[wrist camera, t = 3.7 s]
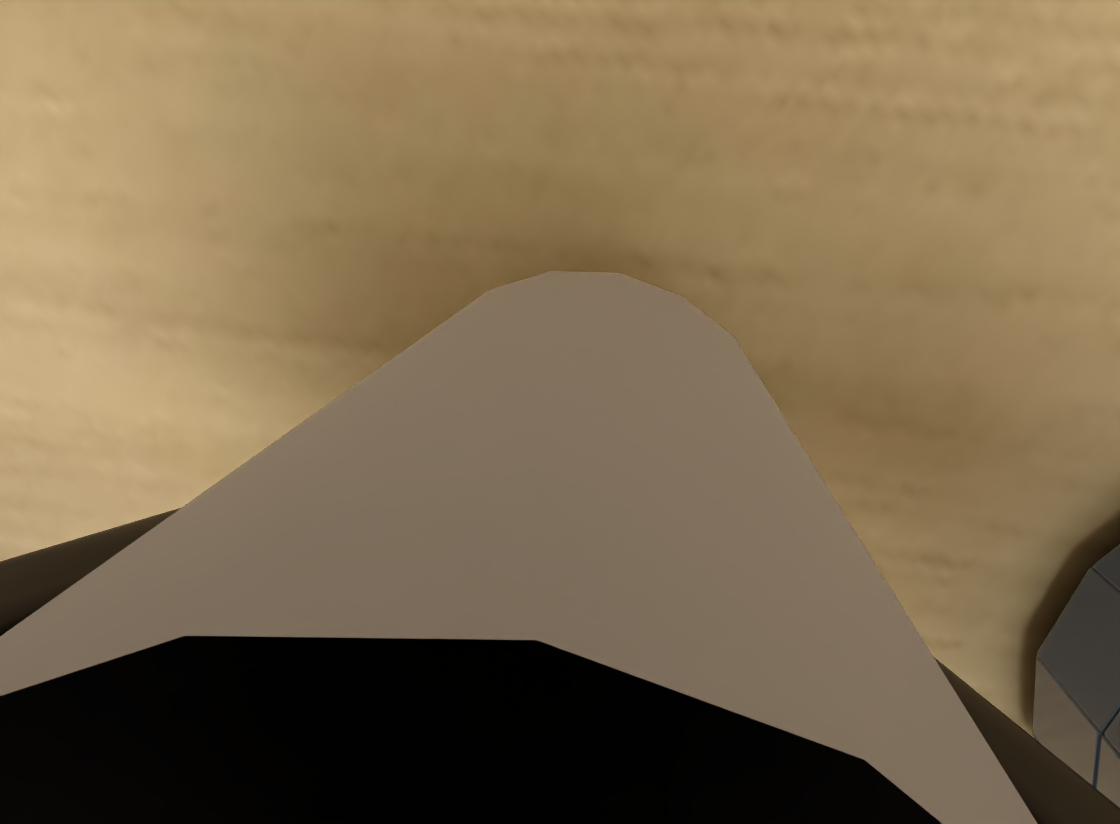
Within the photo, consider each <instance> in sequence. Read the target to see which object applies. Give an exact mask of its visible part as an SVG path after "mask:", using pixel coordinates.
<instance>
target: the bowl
mask: <svg viewBox="0 0 1120 824" xmlns="http://www.w3.org/2000/svg"><path fill="white" fill-rule="evenodd" d="M1092 567H1093V568H1089V569H1088V571H1087V572H1086V574H1085V576H1084V577H1083V579H1082V580H1081V582H1080V584H1079V585H1078V587H1077V588H1076V590H1075V592H1074V593H1073V595H1072V597H1071V598H1070V600H1069V601H1068V603H1067V605H1066V606H1065V608H1064V609H1063V611H1062V613H1061V614H1060V616H1059V617H1058V619H1057V621H1056V622H1055V624H1054V626H1053V627H1052V629H1051V630H1050V632H1049V634H1048V635H1047V637H1046V638H1045V640H1044V642H1043V643H1042V645H1041V647H1040V648H1039V650H1038V651H1037V655H1038V656H1037V657H1036V672H1035V692H1034V712H1033V734H1034V739H1035V740H1037V741H1038V742H1039V743H1040V744H1042V745H1043V746H1044V747H1045V748H1047V749H1048V750H1049V751H1050V752H1051V753H1053V754H1054V755H1055V756H1056V757H1058V758H1059V759H1060V760H1061V761H1063V762H1064V763H1065V764H1066V765H1068V766H1069V767H1070V768H1071V769H1072V770H1074V771H1075V772H1076V773H1077V774H1079V775H1080V776H1081V777H1082V778H1084V779H1085V780H1086V781H1087V782H1089V783H1090V784H1091V785H1092V786H1093V787H1095V788H1096V789H1097V790H1098V791H1100V792H1101V793H1102V794H1103V795H1105V796H1106V797H1107V798H1108V799H1110V800H1111V801H1112V802H1113V803H1114V804H1116V805H1117V806H1118V807H1119V808H1120V544H1119V545H1118V546H1116V547H1115V548H1114V549H1112V550H1111V551H1110V552H1109V553H1107V554H1106V555H1105V556H1103V557H1102V558H1101V559H1100V560H1098V561H1097V562H1096V563H1094V564H1093V566H1092Z"/></svg>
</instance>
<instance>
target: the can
mask: <svg viewBox="0 0 1120 824" xmlns="http://www.w3.org/2000/svg"><path fill="white" fill-rule="evenodd" d="M0 824H1037V822H1036V821H1035V819H1034V817H1033V816H1032V814H1031V813H1030V811H1029V809H1028V808H1027V806H1026V805H1025V803H1024V801H1023V800H1022V798H1021V797H1020V795H1019V793H1018V792H1017V790H1016V789H1015V787H1014V785H1013V784H1012V782H1011V781H1010V779H1009V777H1008V776H1007V774H1006V773H1005V771H1004V769H1003V768H1002V766H1001V765H1000V763H999V761H998V760H997V758H996V756H995V755H994V753H993V752H992V750H991V748H990V747H989V745H988V744H987V742H986V740H985V739H984V737H983V736H982V734H981V732H980V731H979V729H978V728H977V726H976V724H975V723H974V721H973V720H972V718H971V716H970V715H969V713H968V712H967V710H966V708H965V707H964V705H963V704H962V702H961V700H960V699H959V697H958V695H957V694H956V692H955V691H954V689H953V687H952V686H951V684H950V683H949V681H948V679H947V678H946V676H945V675H944V673H943V671H942V670H941V668H940V667H939V665H938V663H937V662H936V660H935V659H934V657H933V655H932V654H931V652H930V651H929V649H928V647H927V646H926V644H925V643H924V641H923V639H922V638H921V636H920V635H919V633H918V631H917V630H916V628H915V626H914V625H913V623H912V622H911V620H910V618H909V617H908V615H907V614H906V612H905V610H904V609H903V607H902V606H901V604H900V602H899V601H898V599H897V598H896V596H895V594H894V593H893V591H892V590H891V588H890V586H889V585H888V583H887V582H886V580H885V578H884V577H883V575H882V574H881V572H880V570H879V569H878V567H877V565H876V564H875V562H874V561H873V559H872V557H871V556H870V554H869V553H868V551H867V549H866V548H865V546H864V545H863V543H862V541H861V540H860V538H859V537H858V535H857V533H856V532H855V530H854V529H853V527H852V525H851V524H850V522H849V521H848V519H847V517H846V516H845V514H844V513H843V511H842V509H841V508H840V506H839V505H838V503H837V501H836V500H835V498H834V496H833V495H832V493H831V492H830V490H829V488H828V487H827V485H826V484H825V482H824V480H823V479H822V477H821V476H820V474H819V472H818V471H817V469H816V468H815V466H814V464H813V463H812V461H811V460H810V458H809V456H808V455H807V453H806V452H805V450H804V448H803V447H802V445H801V444H800V442H799V440H798V439H797V437H796V436H795V434H794V432H793V431H792V429H791V427H790V426H789V424H788V423H787V421H786V419H785V418H784V416H783V415H782V413H781V411H780V410H779V408H778V407H777V405H776V403H775V402H774V400H773V399H772V397H771V395H770V394H769V392H768V391H767V389H766V387H765V386H764V384H763V383H762V381H761V379H760V378H759V376H758V375H757V373H756V371H755V370H754V368H753V366H752V365H751V363H750V362H749V360H748V358H747V357H746V355H745V354H744V352H743V350H742V349H741V347H740V346H739V344H738V342H737V341H736V339H735V338H734V337H733V336H732V335H731V334H730V333H728V332H727V331H726V330H725V329H723V328H722V327H721V326H720V325H718V324H717V323H716V322H715V321H713V320H712V319H711V318H710V317H708V316H707V315H706V314H705V313H703V312H702V311H701V310H700V309H698V308H697V307H696V306H695V305H693V304H692V303H691V302H690V301H688V300H687V299H686V298H685V297H683V296H681V295H679V294H676V293H673V292H670V291H668V290H665V289H662V288H659V287H657V286H654V285H651V284H648V283H646V282H643V281H640V280H637V279H635V278H632V277H629V276H626V275H624V274H621V273H611V272H577V271H549V272H546V273H542V274H539V275H536V276H533V277H529V278H526V279H523V280H519V281H516V282H513V283H510V284H506V285H503V286H500V287H496V288H493V289H490V290H488V291H487V292H485V293H484V294H483V295H481V296H480V297H478V298H477V299H476V300H474V301H473V302H471V303H470V304H468V305H467V306H466V307H464V308H463V309H461V310H460V311H459V312H457V313H456V314H454V315H453V316H452V317H450V318H449V319H447V320H446V321H445V322H443V323H442V324H440V325H439V326H437V327H436V328H435V329H433V330H432V331H430V332H429V333H428V334H426V335H425V336H423V337H422V338H421V339H419V340H418V341H416V342H415V343H413V344H412V345H411V346H409V347H408V348H406V349H405V350H404V351H402V352H401V353H399V354H398V355H397V356H395V357H394V358H392V359H391V360H390V361H388V362H387V363H385V364H384V365H382V366H381V367H380V368H378V369H377V370H375V371H374V372H373V373H371V374H370V375H368V376H367V377H366V378H364V379H363V380H361V381H360V382H358V383H357V384H356V385H354V386H353V387H351V388H350V389H349V390H347V391H346V392H344V393H343V394H342V395H340V396H339V397H337V398H336V399H334V400H333V401H332V402H330V403H329V404H327V405H326V406H325V407H323V408H322V409H320V410H319V411H318V412H316V413H315V414H313V415H312V416H311V417H309V418H308V419H306V420H305V421H303V422H302V423H301V424H299V425H298V426H296V427H295V428H294V429H292V430H291V431H289V432H288V433H287V434H285V435H284V436H282V437H281V438H279V439H278V440H277V441H275V442H274V443H272V444H271V445H270V446H268V447H267V448H265V449H264V450H263V451H261V452H260V453H258V454H257V455H256V456H254V457H253V458H251V459H250V460H248V461H247V462H246V463H244V464H243V465H241V466H240V467H239V468H237V469H236V470H234V471H233V472H232V473H230V474H229V475H227V476H226V477H224V478H223V479H222V480H220V481H219V482H217V483H216V484H215V485H213V486H212V487H210V488H209V489H208V490H206V491H205V492H203V493H202V494H201V495H199V496H198V497H196V498H195V499H193V500H192V501H191V502H189V503H188V504H186V505H185V506H184V507H182V508H181V509H179V510H178V511H177V512H175V513H174V514H172V515H171V516H169V517H168V518H167V519H165V520H164V521H162V522H161V523H160V524H158V525H157V526H155V527H154V528H153V529H151V530H150V531H148V532H147V533H146V534H144V535H143V536H141V537H140V538H138V539H137V540H136V541H134V542H133V543H131V544H130V545H129V546H127V547H126V548H124V549H123V550H122V551H120V552H119V553H117V554H116V555H114V556H113V557H112V558H110V559H109V560H107V561H106V562H105V563H103V564H102V565H100V566H99V567H98V568H96V569H95V570H93V571H92V572H90V573H89V574H88V575H86V576H85V577H83V578H82V579H81V580H79V581H78V582H76V583H75V584H74V585H72V586H71V587H69V588H68V589H67V590H65V591H64V592H62V593H61V594H59V595H58V596H57V597H55V598H54V599H52V600H51V601H50V602H48V603H47V604H45V605H44V606H43V607H41V608H40V609H38V610H37V611H35V612H34V613H33V614H31V615H30V616H28V617H27V618H26V619H24V620H23V621H21V622H20V623H19V624H17V625H16V626H14V627H13V628H12V629H10V630H9V631H7V632H6V633H4V634H3V635H2V636H0Z"/></svg>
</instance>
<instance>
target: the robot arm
mask: <svg viewBox="0 0 1120 824" xmlns="http://www.w3.org/2000/svg"><path fill="white" fill-rule="evenodd" d="M179 509H181V508H179ZM179 509H176V510H172V511H169V512H166V513H162V514H159V515H156V516H152V517H149V518H146V519H142V520H139V521H135V522H132V523H129V524H125V525H122V526H119V527H115V528H112V529H109V530H105V531H102V532H98V533H95V534H92V535H88V536H85V537H82V538H78V539H75V540H72V541H68V542H65V543H61V544H58V545H55V546H51V547H48V548H45V549H41V550H38V551H35V552H31V553H28V554H24V555H21V556H18V557H14V558H11V559H8V560H4V561H1V562H0V636H2V635H3V634H4V633H6V632H7V631H9V630H10V629H12V628H13V627H14V626H16V625H17V624H19V623H20V622H21V621H23V620H24V619H26V618H27V617H28V616H30V615H31V614H33V613H34V612H35V611H37V610H38V609H40V608H41V607H43V606H44V605H45V604H47V603H48V602H50V601H51V600H52V599H54V598H55V597H57V596H58V595H59V594H61V593H62V592H64V591H65V590H67V589H68V588H69V587H71V586H72V585H74V584H75V583H76V582H78V581H79V580H81V579H82V578H83V577H85V576H86V575H88V574H89V573H90V572H92V571H93V570H95V569H96V568H98V567H99V566H100V565H102V564H103V563H105V562H106V561H107V560H109V559H110V558H112V557H113V556H114V555H116V554H117V553H119V552H120V551H122V550H123V549H124V548H126V547H127V546H129V545H130V544H131V543H133V542H134V541H136V540H137V539H138V538H140V537H141V536H143V535H144V534H146V533H147V532H148V531H150V530H151V529H153V528H154V527H155V526H157V525H158V524H160V523H161V522H162V521H164V520H165V519H167V518H168V517H169V516H171V515H172V514H174V513H175V512H177V511H178V510H179ZM934 659H935V658H934ZM935 660H936V662H937V663H938V665H939V667H940V668H941V670H942V671H943V673H944V675H945V676H946V678H947V679H948V681H949V683H950V684H951V686H952V687H953V689H954V691H955V692H956V694H957V695H958V697H959V699H960V700H961V702H962V704H963V705H964V707H965V708H966V710H967V712H968V713H969V715H970V716H971V718H972V720H973V721H974V723H975V724H976V726H977V728H978V729H979V731H980V732H981V734H982V736H983V737H984V739H985V740H986V742H987V744H988V745H989V747H990V748H991V750H992V752H993V753H994V755H995V756H996V758H997V760H998V761H999V763H1000V765H1001V766H1002V768H1003V769H1004V771H1005V773H1006V774H1007V776H1008V777H1009V779H1010V781H1011V782H1012V784H1013V785H1014V787H1015V789H1016V790H1017V792H1018V793H1019V795H1020V797H1021V798H1022V800H1023V801H1024V803H1025V805H1026V806H1027V808H1028V809H1029V811H1030V813H1031V814H1032V816H1033V817H1034V819H1035V821H1036V822H1037V824H1120V808H1119V807H1118V806H1117V805H1116V804H1114V803H1113V802H1112V801H1111V800H1110V799H1108V798H1107V797H1106V796H1105V795H1103V794H1102V793H1101V792H1100V791H1098V790H1097V789H1096V788H1095V787H1093V786H1092V785H1091V784H1090V783H1089V782H1087V781H1086V780H1085V779H1084V778H1082V777H1081V776H1080V775H1079V774H1077V773H1076V772H1075V771H1074V770H1072V769H1071V768H1070V767H1069V766H1068V765H1066V764H1065V763H1064V762H1063V761H1061V760H1060V759H1059V758H1058V757H1056V756H1055V755H1054V754H1053V753H1051V752H1050V751H1049V750H1048V749H1047V748H1045V747H1044V746H1043V745H1042V744H1040V743H1039V742H1038V741H1037V740H1035V739H1034V738H1033V737H1032V736H1031V735H1029V734H1028V733H1027V732H1026V731H1024V730H1023V729H1022V728H1021V727H1019V726H1018V725H1017V724H1016V723H1014V722H1013V721H1012V720H1011V719H1010V718H1008V717H1007V716H1006V715H1005V714H1003V713H1002V712H1001V711H1000V710H998V709H997V708H996V707H995V706H993V705H992V704H991V703H990V702H989V701H987V700H986V699H985V698H984V697H982V696H981V695H980V694H979V693H977V692H976V691H975V690H974V689H973V688H971V687H970V686H969V685H968V684H966V683H965V682H964V681H963V680H961V679H960V678H959V677H958V676H956V675H955V674H954V673H953V672H952V671H950V670H949V669H948V668H947V667H945V666H944V665H943V664H942V663H940V662H939V661H938V660H937V659H935Z"/></svg>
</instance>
